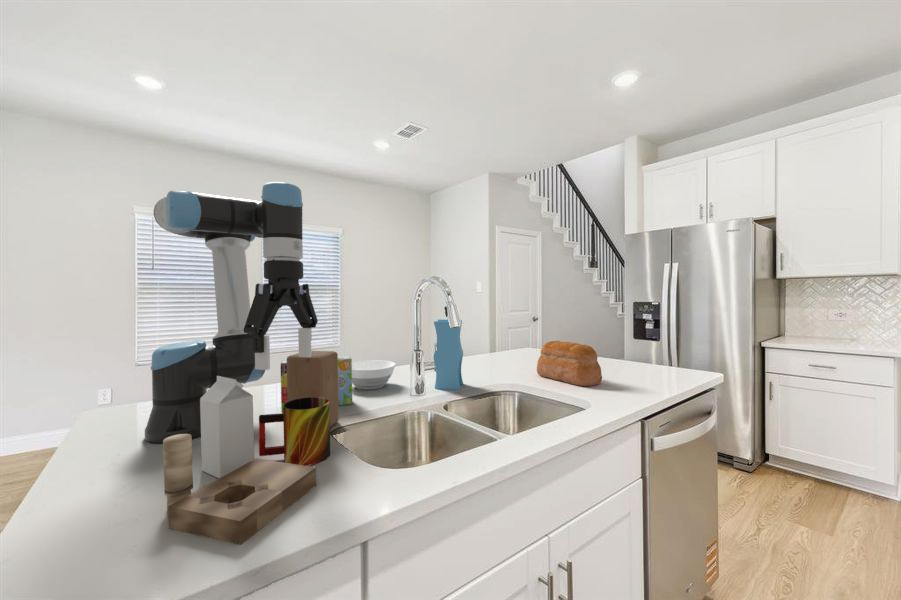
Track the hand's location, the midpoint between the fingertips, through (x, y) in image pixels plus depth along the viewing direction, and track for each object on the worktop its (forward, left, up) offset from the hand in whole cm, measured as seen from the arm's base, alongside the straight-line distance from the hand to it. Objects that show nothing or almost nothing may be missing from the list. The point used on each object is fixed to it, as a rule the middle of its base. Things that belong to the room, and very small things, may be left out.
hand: (285, 362), depth 82 cm
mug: (0, +4, -22) cm, 23 cm away
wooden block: (-9, +22, -22) cm, 33 cm away
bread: (+56, +97, -22) cm, 115 cm away
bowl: (-16, +66, -22) cm, 71 cm away
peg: (-7, -18, -22) cm, 29 cm away
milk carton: (-11, -4, -22) cm, 25 cm away
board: (+4, -14, -22) cm, 26 cm away
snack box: (-20, +39, -22) cm, 49 cm away
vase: (+13, +74, -22) cm, 78 cm away
